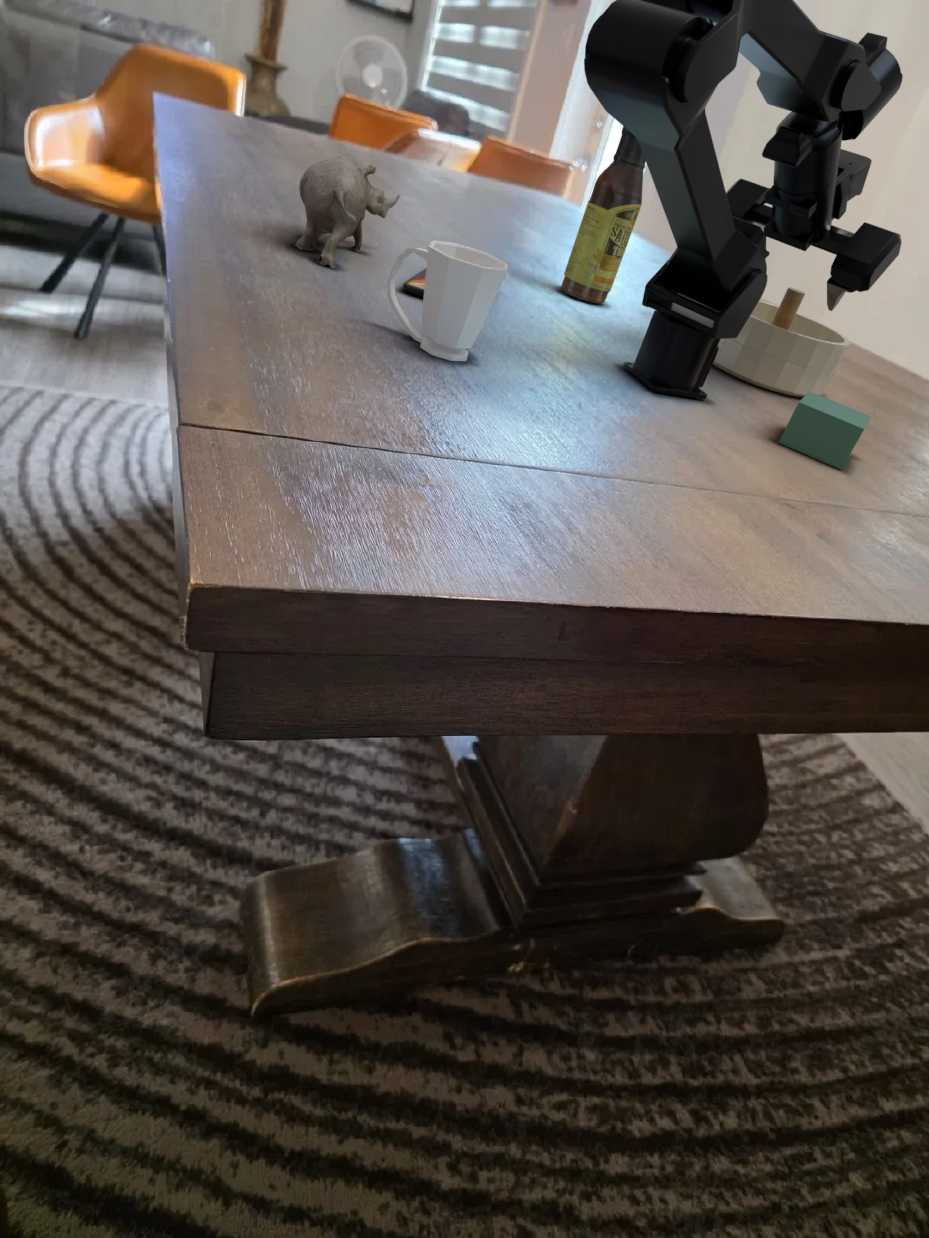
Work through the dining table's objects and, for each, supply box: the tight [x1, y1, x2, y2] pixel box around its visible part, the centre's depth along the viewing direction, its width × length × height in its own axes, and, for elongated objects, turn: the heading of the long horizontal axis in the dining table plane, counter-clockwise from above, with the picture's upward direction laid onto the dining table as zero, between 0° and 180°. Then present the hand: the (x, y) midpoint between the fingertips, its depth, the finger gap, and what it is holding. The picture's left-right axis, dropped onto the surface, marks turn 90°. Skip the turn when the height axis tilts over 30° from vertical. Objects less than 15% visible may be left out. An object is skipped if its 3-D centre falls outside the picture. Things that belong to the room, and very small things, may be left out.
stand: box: [778, 392, 872, 471], centre depth 79 cm, size 6×6×4 cm
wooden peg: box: [771, 287, 806, 330], centre depth 98 cm, size 3×3×9 cm
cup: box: [386, 239, 509, 362], centre depth 72 cm, size 7×10×8 cm
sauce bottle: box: [560, 125, 647, 305], centre depth 104 cm, size 6×6×20 cm
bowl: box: [712, 299, 851, 398], centre depth 99 cm, size 15×15×6 cm
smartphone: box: [402, 268, 426, 298], centre depth 92 cm, size 8×1×15 cm
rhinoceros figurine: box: [294, 154, 401, 269], centre depth 90 cm, size 8×14×15 cm
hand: (795, 292), depth 95 cm, fingers open, 9 cm apart
